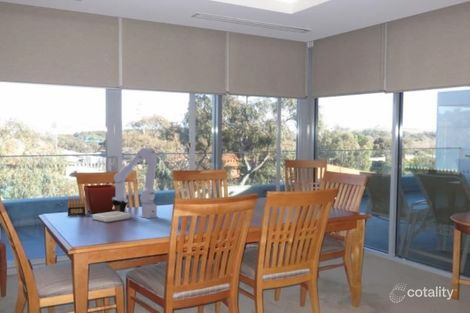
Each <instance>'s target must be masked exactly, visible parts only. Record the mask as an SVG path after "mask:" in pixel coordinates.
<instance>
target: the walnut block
mask: <svg viewBox="0 0 470 313" xmlns="http://www.w3.org/2000/svg"><path fill="white" fill-rule="evenodd" d="M114 211H120V205H117V206H115V207H114ZM120 212H121V211H120Z"/></svg>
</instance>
